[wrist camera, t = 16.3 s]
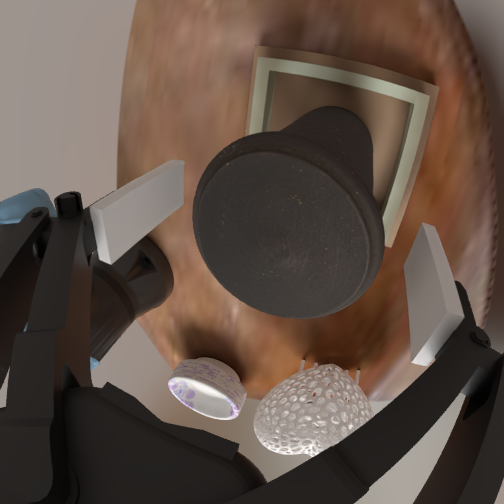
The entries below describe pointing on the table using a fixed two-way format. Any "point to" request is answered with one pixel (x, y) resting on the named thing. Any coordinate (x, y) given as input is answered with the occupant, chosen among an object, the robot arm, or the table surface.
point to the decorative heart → (311, 410)
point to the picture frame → (357, 101)
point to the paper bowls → (208, 387)
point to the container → (293, 216)
